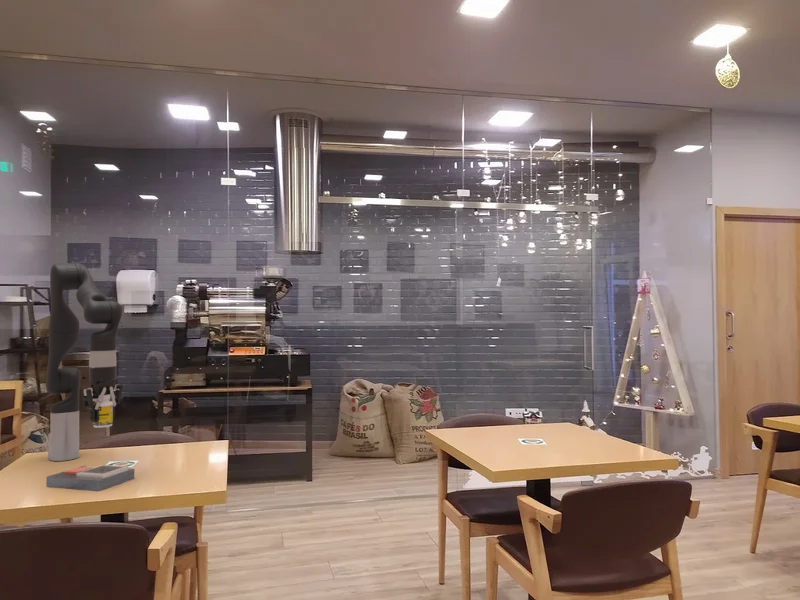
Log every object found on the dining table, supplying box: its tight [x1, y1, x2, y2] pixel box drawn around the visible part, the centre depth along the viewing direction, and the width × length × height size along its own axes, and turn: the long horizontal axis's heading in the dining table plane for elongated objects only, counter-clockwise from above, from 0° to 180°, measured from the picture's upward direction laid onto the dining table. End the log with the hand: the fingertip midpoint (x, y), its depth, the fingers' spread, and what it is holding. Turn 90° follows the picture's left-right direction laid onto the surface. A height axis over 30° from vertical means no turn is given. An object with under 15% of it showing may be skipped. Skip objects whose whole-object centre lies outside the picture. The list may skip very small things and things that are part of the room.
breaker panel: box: [45, 464, 135, 492], centre depth 176 cm, size 20×14×4 cm
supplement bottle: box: [92, 394, 114, 429], centre depth 176 cm, size 5×5×10 cm
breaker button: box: [63, 466, 90, 475], centre depth 178 cm, size 5×5×4 cm
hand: (102, 420), depth 176 cm, fingers closed on supplement bottle, 5 cm apart
